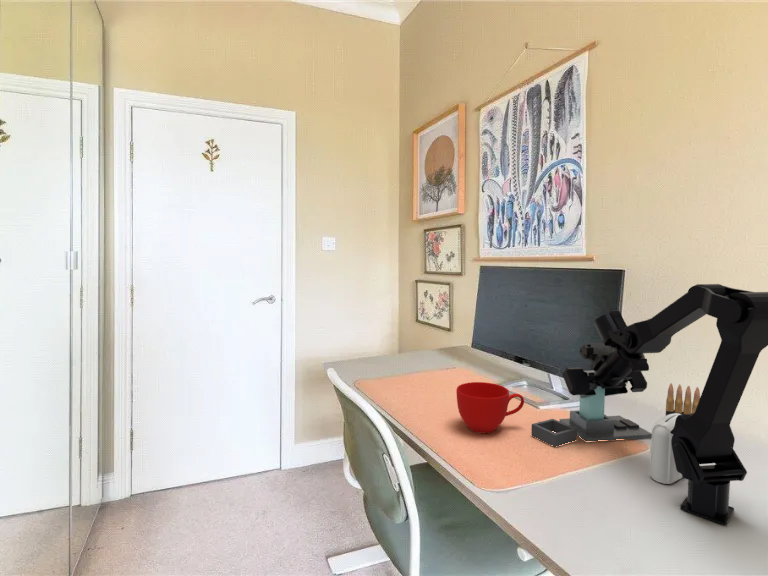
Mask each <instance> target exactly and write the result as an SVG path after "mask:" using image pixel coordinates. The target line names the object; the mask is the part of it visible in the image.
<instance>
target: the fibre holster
mask: <svg viewBox="0 0 768 576" xmlns="http://www.w3.org/2000/svg"><path fill="white" fill-rule="evenodd" d="M552 431H554V432H556V433H554V432H552ZM531 435H532V436H534V437H536V438H538V439H540V440H539V441H541V440H542V441H541V442H543V441H544V442H543V443H545V442H546V443H545V444H547V443H548V444H547V445H549V444H550V445H549V446H551V445H553V446H554V447H553V446H552V447H553V448H555V447H556V446H559V445H562V444H565V443H568V442H572V441H575V440H577V441H578V436H577V429H576V428H574V427H571V426H569V425H567V424H564V423H562V422H560V421H559V420H557V419H555V418H550V419H545V420H542V421H539V422H534V423H531ZM531 435H530V436H531ZM532 436H531V437H532ZM534 437H533V438H534ZM536 438H535V439H536ZM538 439H537V440H538ZM559 447H560V446H559ZM556 448H557V447H556Z"/></svg>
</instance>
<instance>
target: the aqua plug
mask: <svg viewBox="0 0 768 576" xmlns="http://www.w3.org/2000/svg"><path fill="white" fill-rule="evenodd" d="M583 371H584V372H587V375H588V376H589V373H593V372H594V370H583ZM594 390H595V393H596V395H593V396H589V397H586V398H581V397H580V396H579V408H578V410H579V415H580V416H582V417H583V418H585V419H586V420H602V419H604V414H605V403H606V402H605V401H606V396H605V389H602V387H601V386H598V387H597V388H596V389H594Z"/></svg>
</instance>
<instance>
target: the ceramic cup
mask: <svg viewBox="0 0 768 576" xmlns="http://www.w3.org/2000/svg"><path fill="white" fill-rule="evenodd" d="M455 391H456V393H455V394H456V403H457V409H458V413H459V416H460V418H461V419H462V421H463V423H465V425H466V426H467V428H468V429H469V430H470V431H472V432H475V433H479V434H490V433H493V432H495V431H496V429H497V428H499V427H500V426H501V424H502V423H503V422H504V420H505V418H506V417H508V416H512V415H514V414H516V413H518V412H519V411H520V410H521V409H522V408H523V407H524V404H525V399H524V396H522V394H520V393H512V394H510V390H509V389H508V388H506V387H505V386H503V385H500V384H497V383H493V382H481V381H475V382H473V381H472V382H465V383H462V384H460V385H458V386H457V387H456V390H455ZM514 398H519V399H520V403H519V405H518V406H517V407H516V408H514V409H512V410H509V411H508V407H509V404H510V401H511V400H512V399H514Z"/></svg>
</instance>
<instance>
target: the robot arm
mask: <svg viewBox="0 0 768 576" xmlns="http://www.w3.org/2000/svg"><path fill="white" fill-rule="evenodd" d="M706 315H707V316H710V317H712V318H715V319H716V322H715V323H716V324H715V326H716V329H717V331H718V333H719V336H720V340H721V341H720V345H719V346H718V350H717V352H716V355H715V358H714V360H713V363H712V366H711V368H710V370H709V373H708V376H707V378H706V381H705V384H704V387H703V390H702V392H701V393H700V400H699V402H698V405H697V408H696V410H695V412H694V413H693V414H685V415H678V416H677V418H676V421H675V426H674V428H673V430H672V431H671V432H670V433H671V434H673V436H672V439H671V445H672V450H673V455H674V460H675V465H676V470H677V471H678V472H679V473H681V474H682V478H683V479H684V480H688V481H687V483H688V484H687V496H686V498H684V500H683V501H682V503H680V506H679V508H680V510H683V511H685V512H687V513H690V514H693V515H696V516H698V517H701V518H704V519H706V520H709V521H712V522H714V523H716V524H720V525H722V526H728V523H729V522H730V519H731V518H732V516H733V514H734V512H735V508H734V507H733V506H730V505H729V504H730V503H729V501H730V490H731V489H730V487H731V482H736V481H739V482H743V481H744V479H745V478H746V476H747V473H748V471H747V468H745V466H744V464H743V463H742V461H741V459H740V458H739V455H737V453H736V451H735V450H734V446H735V435H734V433H733V431H732V426H731V423H732V420H733V418H734V415H735V414H736V413H735V412H736V410H737V408H738V405H739V404H740V402H741V401H740V400H741V399H742V396H743V394H744V391H745V389H746V386H747V384H748V381H749V379H750V377H751V374H752V372H753V371H754V367H755V365H756V363H757V360H758V358H759V355H760V353H761V352H762V351H763V350H765V348H766V347H767V346H768V291H752V290H751V291H750V290H744V289H738V288H734V287H730V286H729V287H728V286H726V285H722V284H719V283H706V284H704V283H703V284H695V285H693V286H691V287H690V288H689V289H688V290H687V292H686V293H684V294H683V295H682V296H680V297H679V298H677V299H676V300H675V301H673V302H672V303H671V304H669V305H667V307H664V308H663V309H662V310H660V311H659V312H657V313H656V314H655V315H654V316H652V317H651V318H648V319H645V320H641V321H637V322H633V323H632V324H629V325H627V323H626V322H625V321H626V320H625V319H624V318H623V315H622V313H621V311H620V309H619V310H618V309H617V310H616V309H614V310H610V311H609V312H608V313H605V314H603V315H600V316H599V317H597V318H595V320H594V322H593V323H594V326H595V328H596V329H597V332H598V335H599V336H600V339H601V340H602V342H601V341H600V342H588V343H584V344H582V345H581V347H580V348H579V355H580V356H581V357H582V359H583V360H589V361H590V363H591V364H590V365H589V368H590V369H591V371H594V372H593V373H589V376H588V375H587V372H584V371H585V370H584V368H582V367H580V366H578V367H565V369H564V370H563V372H562V374H561V376H562V378H563V380H564V382H565V384H566V387H567V390H568V392H569V394H570V395H571V396H579V398H580V397H581V398H586V397H589V396H593V395H596V393H595V390H594V389H596V388H597V387H598V386H601V387H602V389H605V397H608V396H616V395H623V394H624V395H625V394H627V393H629V390H630V391H631V392H632V393H640V392H641V393H643V392H644V391H645V390H646V389H647V387H648V381H647V380H646V377H645V376H644V374H643V373H642V372H649V371H650V365H649V364H648V359H647V358H646V356H645V354H658V353H659V354H660V353H661V352H662V351H664V350H665V349H666V348H667V347H668V346H669V345H670V344H671V342H672V337H673V336H674V335H676V334H678V333H679V332H680V331H682V330H684V329H686V328H687V327H688V326H690V325H691V324H693V323H694V322H696V321H698V320H700V319H701V318H703V317H705V316H706ZM610 347H611V348H613V349H611V348H610ZM628 383H630V385H631V387H630V388H629V390H628V389H627V386H628V385H627V384H628Z"/></svg>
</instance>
